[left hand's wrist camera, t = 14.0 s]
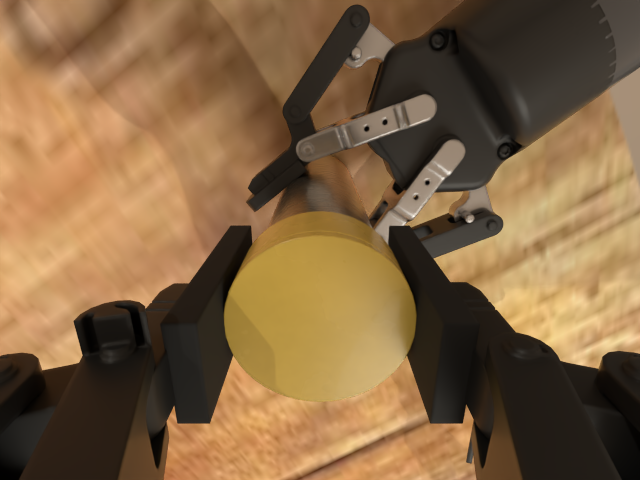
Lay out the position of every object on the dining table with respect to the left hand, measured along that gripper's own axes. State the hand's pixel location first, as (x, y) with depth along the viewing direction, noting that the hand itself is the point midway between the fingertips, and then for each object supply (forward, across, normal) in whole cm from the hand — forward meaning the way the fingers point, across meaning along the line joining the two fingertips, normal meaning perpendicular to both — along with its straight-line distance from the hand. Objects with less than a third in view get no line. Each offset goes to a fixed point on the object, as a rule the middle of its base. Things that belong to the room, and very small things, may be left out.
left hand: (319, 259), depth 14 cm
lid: (-4, 0, 0) cm, 4 cm away
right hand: (+7, -2, -2) cm, 7 cm away
